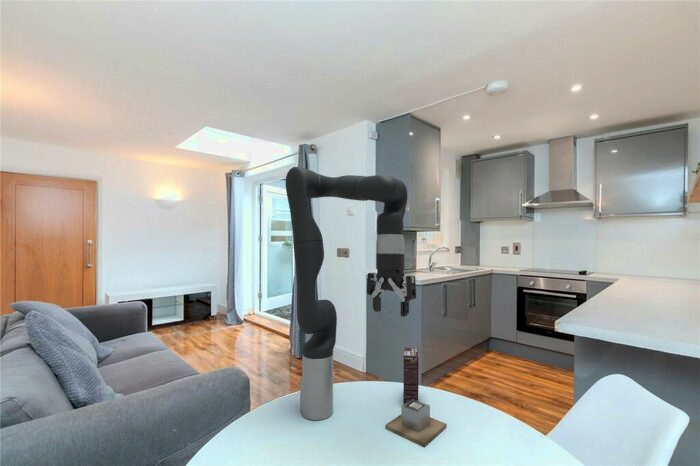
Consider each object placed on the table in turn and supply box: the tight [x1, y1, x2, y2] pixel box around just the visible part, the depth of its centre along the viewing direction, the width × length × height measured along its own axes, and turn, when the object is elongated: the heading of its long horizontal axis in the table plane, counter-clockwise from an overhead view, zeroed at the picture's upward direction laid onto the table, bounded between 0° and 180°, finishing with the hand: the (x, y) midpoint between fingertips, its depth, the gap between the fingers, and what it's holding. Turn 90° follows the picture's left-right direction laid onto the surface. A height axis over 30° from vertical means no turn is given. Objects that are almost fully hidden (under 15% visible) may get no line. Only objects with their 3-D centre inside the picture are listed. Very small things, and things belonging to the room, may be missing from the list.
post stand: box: [384, 402, 447, 448], centre depth 87 cm, size 12×12×6 cm
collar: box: [400, 399, 431, 433], centre depth 87 cm, size 6×6×5 cm
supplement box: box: [402, 347, 420, 405], centre depth 102 cm, size 9×5×16 cm, turn 168°
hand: (390, 313), depth 83 cm, fingers open, 8 cm apart
